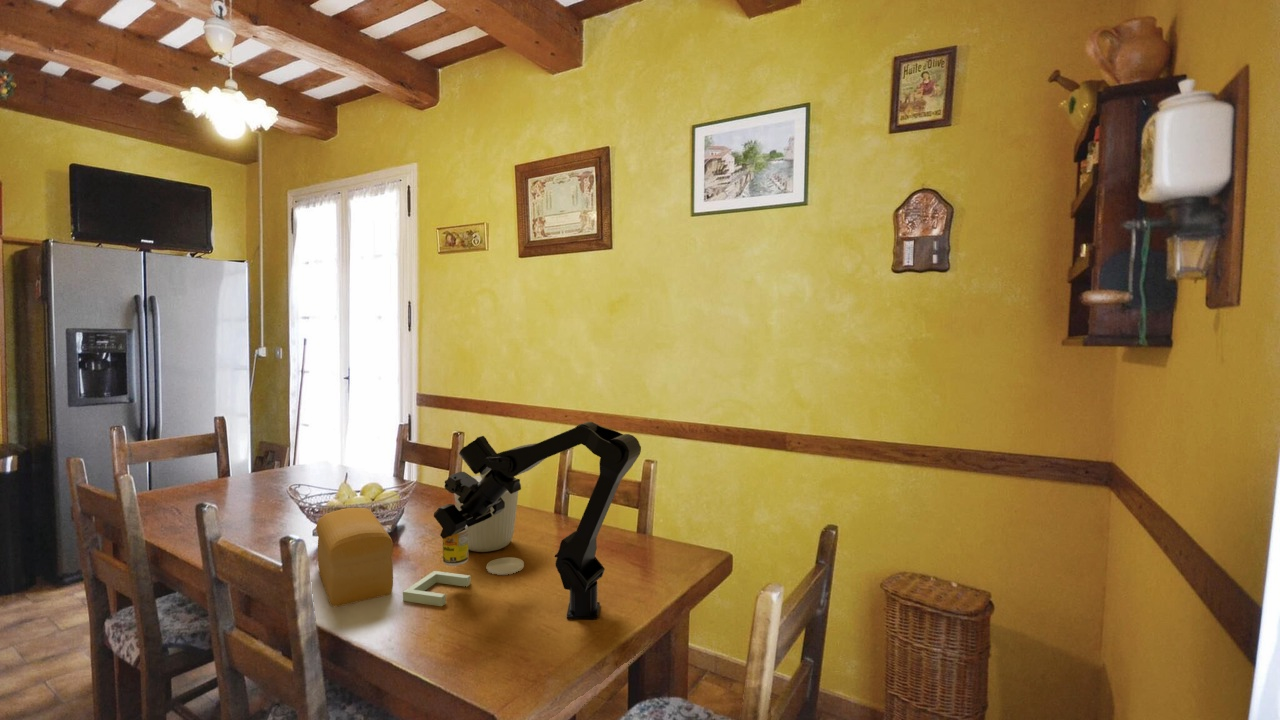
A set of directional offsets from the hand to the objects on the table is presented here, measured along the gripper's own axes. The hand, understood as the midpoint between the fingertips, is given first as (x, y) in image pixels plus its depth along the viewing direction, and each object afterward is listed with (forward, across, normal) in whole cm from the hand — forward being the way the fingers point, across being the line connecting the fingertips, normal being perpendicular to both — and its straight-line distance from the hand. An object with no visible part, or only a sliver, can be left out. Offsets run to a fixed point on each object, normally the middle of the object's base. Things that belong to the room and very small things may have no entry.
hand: (450, 532), depth 137 cm
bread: (+24, +7, -7) cm, 26 cm away
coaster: (+5, -13, +13) cm, 19 cm away
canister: (+14, -24, +3) cm, 28 cm away
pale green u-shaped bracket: (+9, +4, +8) cm, 13 cm away
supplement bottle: (+4, 0, +6) cm, 7 cm away
